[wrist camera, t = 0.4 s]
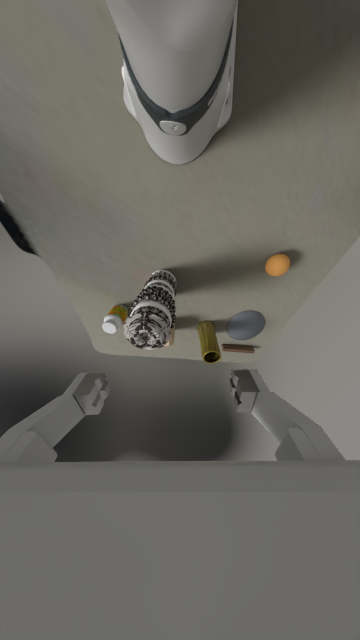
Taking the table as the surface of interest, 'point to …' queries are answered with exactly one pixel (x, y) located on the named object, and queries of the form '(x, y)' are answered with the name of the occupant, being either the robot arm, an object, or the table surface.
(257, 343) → the table surface
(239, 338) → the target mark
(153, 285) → the decorative candle
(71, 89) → the table surface
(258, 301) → the table surface
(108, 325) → the supplement bottle
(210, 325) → the vase
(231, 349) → the stopper strip
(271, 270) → the ball
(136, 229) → the table surface
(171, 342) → the candle
